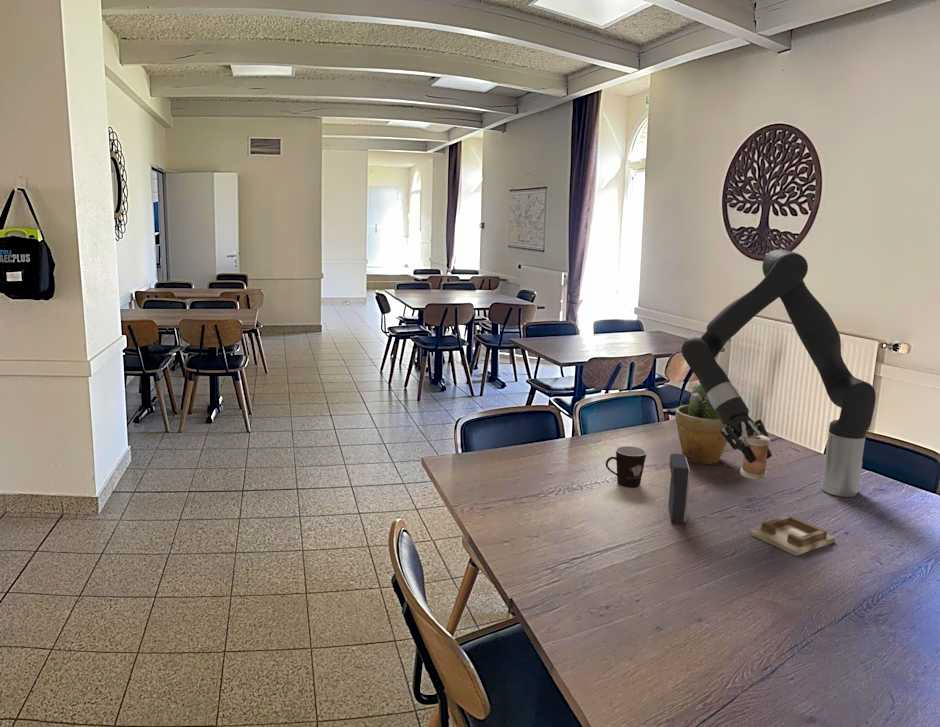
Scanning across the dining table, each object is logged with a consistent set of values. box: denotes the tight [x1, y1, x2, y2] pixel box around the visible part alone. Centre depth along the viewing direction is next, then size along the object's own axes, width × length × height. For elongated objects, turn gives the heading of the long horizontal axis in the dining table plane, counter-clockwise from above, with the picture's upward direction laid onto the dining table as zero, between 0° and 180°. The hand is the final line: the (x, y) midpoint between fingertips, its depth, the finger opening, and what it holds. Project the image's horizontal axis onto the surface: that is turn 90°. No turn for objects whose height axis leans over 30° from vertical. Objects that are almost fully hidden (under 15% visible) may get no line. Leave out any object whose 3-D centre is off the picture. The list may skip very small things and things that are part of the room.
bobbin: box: [739, 433, 771, 480], centre depth 178 cm, size 6×6×10 cm
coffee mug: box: [605, 445, 647, 489], centre depth 200 cm, size 12×9×10 cm
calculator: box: [667, 453, 691, 525], centre depth 179 cm, size 11×4×15 cm, turn 168°
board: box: [751, 514, 836, 557], centre depth 169 cm, size 15×12×3 cm
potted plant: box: [674, 382, 728, 465], centre depth 222 cm, size 18×19×25 cm
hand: (761, 459), depth 177 cm, fingers closed on bobbin, 5 cm apart
